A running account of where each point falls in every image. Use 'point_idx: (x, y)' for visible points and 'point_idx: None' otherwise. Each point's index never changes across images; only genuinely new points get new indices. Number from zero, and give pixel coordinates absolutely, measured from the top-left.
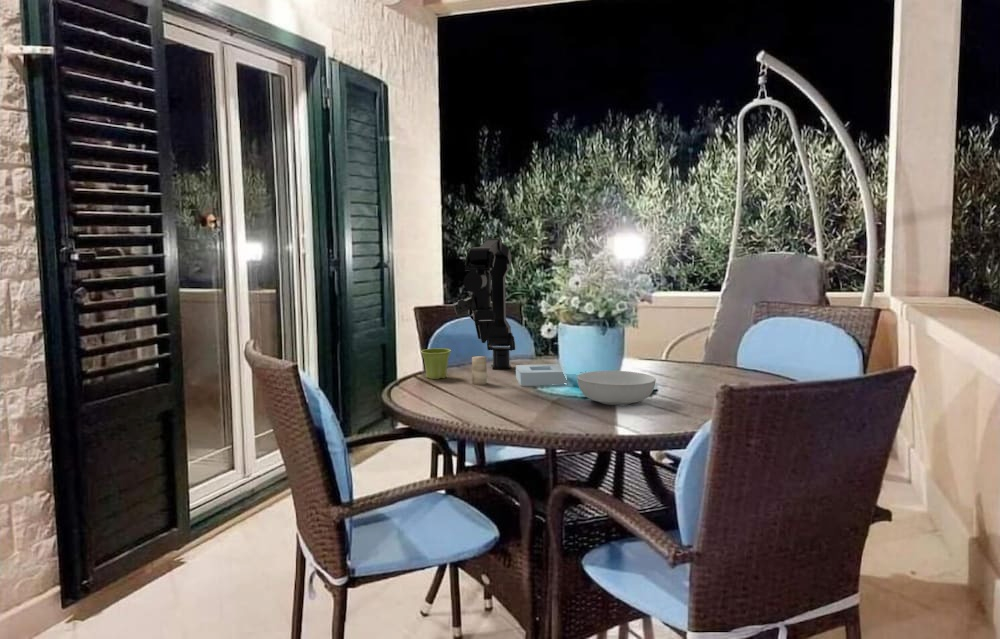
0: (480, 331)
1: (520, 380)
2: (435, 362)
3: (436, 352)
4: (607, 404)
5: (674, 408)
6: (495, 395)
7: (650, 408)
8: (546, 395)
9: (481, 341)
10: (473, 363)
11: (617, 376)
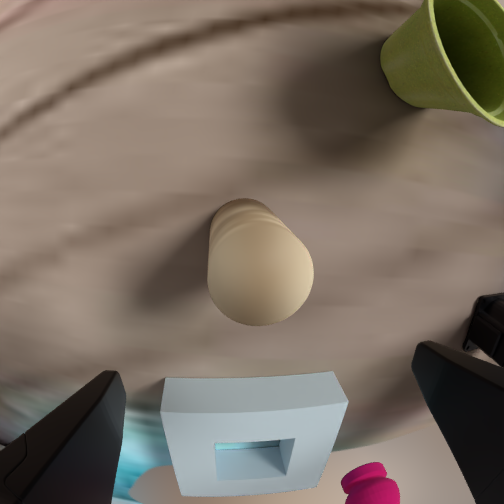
0: (15, 445)
1: (175, 390)
2: (411, 32)
3: None
4: None
5: None
6: (13, 275)
7: None
8: (40, 403)
9: (104, 375)
10: (230, 226)
11: None
